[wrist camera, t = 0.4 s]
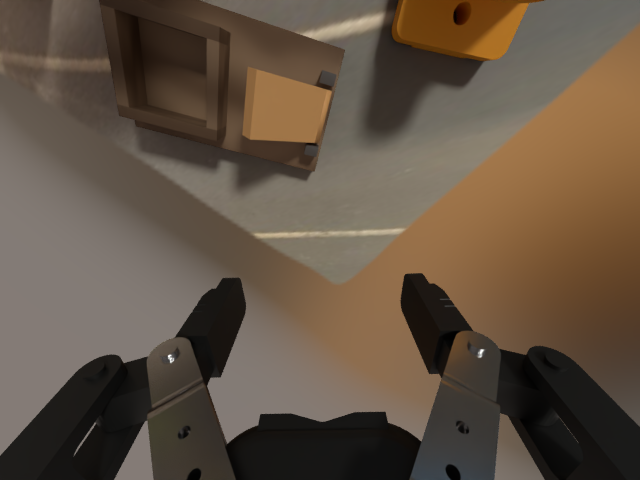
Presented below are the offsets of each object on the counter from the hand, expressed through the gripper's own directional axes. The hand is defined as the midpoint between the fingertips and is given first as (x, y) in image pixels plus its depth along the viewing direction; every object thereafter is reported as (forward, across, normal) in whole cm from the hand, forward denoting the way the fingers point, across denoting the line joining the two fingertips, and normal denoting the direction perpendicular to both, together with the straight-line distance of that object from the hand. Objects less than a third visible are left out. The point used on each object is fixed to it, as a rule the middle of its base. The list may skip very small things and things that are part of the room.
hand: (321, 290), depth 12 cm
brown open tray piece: (+21, +9, -11) cm, 25 cm away
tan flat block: (+16, +3, -9) cm, 19 cm away
